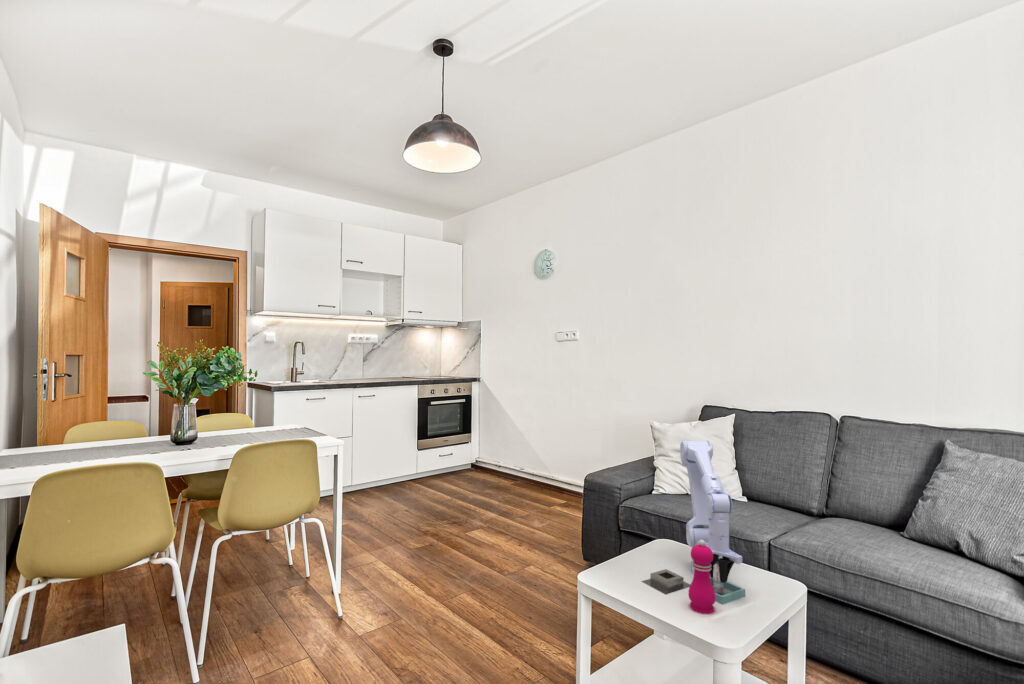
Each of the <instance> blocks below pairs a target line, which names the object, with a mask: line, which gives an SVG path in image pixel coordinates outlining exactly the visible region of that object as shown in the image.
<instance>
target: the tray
mask: <svg viewBox="0 0 1024 684" xmlns="http://www.w3.org/2000/svg"><path fill="white" fill-rule="evenodd" d="M710 580H711V584H712V586H713V578H711V577H710ZM724 590H728V591H730V592H729V593H725V594H723V595H721V594H719V593H718V592H715V596H716V601H715V603H718V604H720V605H725V604H728V603H730V602H734V601H736V600H739V599H742V598H745V597H746V589H745V588H743V587H740V586H739V585H737V584H733V583H731V582H729V581H728V580H727V582H724Z"/></svg>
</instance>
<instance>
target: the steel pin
mask: <svg viewBox="0 0 1024 684" xmlns="http://www.w3.org/2000/svg"><path fill="white" fill-rule="evenodd" d="M712 586H713V589H714V591H715V593H717V594H719V593H720V594H721V593H724V591H725V588H724V583H722V582H721V580H720V568H719V564H718V561H716V562H714V564H713V585H712Z"/></svg>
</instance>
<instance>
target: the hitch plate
mask: <svg viewBox="0 0 1024 684" xmlns="http://www.w3.org/2000/svg"><path fill="white" fill-rule="evenodd" d="M649 575H650V578H648V579H644V580H641V581H640V582H642V583H643V584H645V585H646V586H649V587H651V588H653V589H654V590H656V591H658V592H660V593H661V594H664V595H669V594H672V593H676V592H678V591H682V590H685V589H688V588H690V585H691V583H688V582H686V581H684V580H685V578H684V577H683V576H681V575H679V574H677V573H676V572H673V571H671V570H669V569H661V570H657V571H654V572H651V573H650V574H649Z"/></svg>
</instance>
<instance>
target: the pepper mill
mask: <svg viewBox="0 0 1024 684" xmlns="http://www.w3.org/2000/svg"><path fill="white" fill-rule="evenodd" d="M690 557H691V560H692V559H693V560H694V561H693V568H694V574H693V578H692V582H691V583H690V587H688V588H689V589H688V593H687V594H688V599H689V600H690V603H689V606H690V607H689V608H690V609H691V610H693V611H694V612H695V613H698V614H702V615H703V614H704V615H708V614H709V615H710V614H713V613H714V612H715V607H714V606H713V605H715V603H716V596H715V593H716V592H715V591H714V589H713V585H712V584H711V580H710V578H711V577H710V570H711V566H712V565H711V562H712V561H713V552H712V550H711V549H710V548H709V547H707V546H705V541H704V540H700V541H699V545H695V546H694V547H693V548H692V547H691V550H690Z"/></svg>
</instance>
